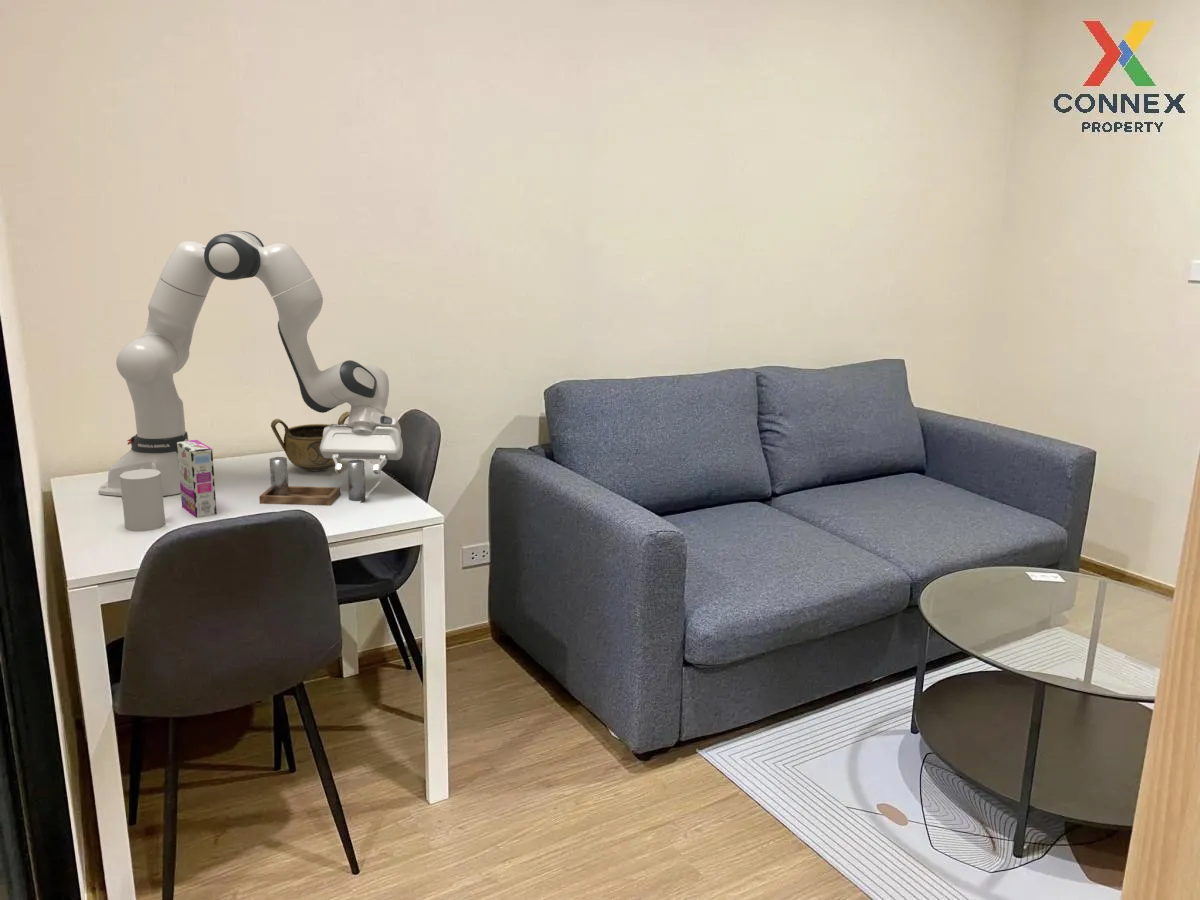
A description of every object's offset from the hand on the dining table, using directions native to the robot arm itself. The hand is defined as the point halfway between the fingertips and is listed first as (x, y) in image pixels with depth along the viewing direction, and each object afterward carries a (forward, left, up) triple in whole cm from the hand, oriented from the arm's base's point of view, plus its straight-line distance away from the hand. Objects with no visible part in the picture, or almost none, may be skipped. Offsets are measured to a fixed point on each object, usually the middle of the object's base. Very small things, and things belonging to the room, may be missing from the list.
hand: (357, 472), depth 230 cm
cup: (-42, -23, -7) cm, 48 cm away
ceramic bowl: (-19, +27, -7) cm, 34 cm away
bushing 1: (-19, -2, -6) cm, 20 cm away
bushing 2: (0, -1, -7) cm, 7 cm away
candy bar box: (-34, -13, -7) cm, 37 cm away
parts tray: (-14, -2, -7) cm, 15 cm away
